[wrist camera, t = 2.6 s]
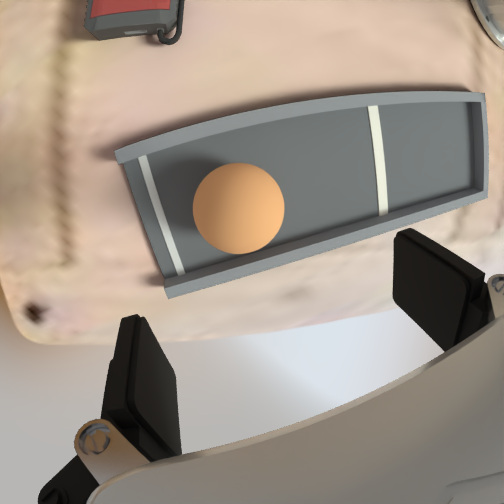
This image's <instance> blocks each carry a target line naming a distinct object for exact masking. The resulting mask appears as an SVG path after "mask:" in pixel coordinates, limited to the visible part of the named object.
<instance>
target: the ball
mask: <svg viewBox="0 0 504 504" xmlns="http://www.w3.org/2000/svg"><path fill="white" fill-rule="evenodd" d="M193 216H194V221H195V224H196V226H197V229H198V230H199V232H200V234H201V235H202V236H203V238H204V239H205V240H206V241H207V242H208V243H209V244H211V245H212V246H213V247H215V248H217V249H219V250H221V251H224V252H227V253H232V254H245V253H250V252H253V251H256V250H258V249H260V248H262V247H264V246H265V245H266V244H268V243H269V242H270V241H271V240H272V239H273V238H274V237H275V235H276V234H277V232H278V231H279V229H280V227H281V224H282V221H283V218H284V199H283V195H282V192H281V190H280V188H279V186H278V184H277V182H276V181H275V180H274V179H273V178H272V177H271V176H270V175H269V174H268V173H267V172H266V171H264V170H263V169H261V168H259V167H257V166H254V165H251V164H247V163H231V164H226V165H223V166H221V167H219V168H217V169H215V170H213V171H212V172H210V173H209V174H208V175H207V176H206V177H205V178H204V179H203V180H202V182H201V183H200V185H199V186H198V188H197V190H196V193H195V196H194V201H193Z"/></svg>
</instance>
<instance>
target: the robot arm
mask: <svg viewBox="0 0 504 504" xmlns="http://www.w3.org/2000/svg"><path fill="white" fill-rule="evenodd" d="M470 1H471V3H472V6H473V8H474V10H475V12H476V14H477V16H478V19H479V20H480V22H481V24H482V26H483V27H484V29H485V30H486V32H487V33H488V35H489V36H490V37H491V39H492V40H493V41H494V42H495V43H496V44H497V45H498V46H499V47H500V48H502V49H503V50H504V0H470ZM484 278H485V273H484V272H482V271H481V270H479V269H478V268H476V267H475V266H473V265H472V264H470V263H469V262H467V261H465V260H464V259H462V258H461V257H459V256H458V255H456V254H454V253H453V252H451V251H450V250H448V249H446V248H445V247H443V246H441V245H440V244H438V243H436V242H435V241H433V240H431V239H430V238H428V237H426V236H425V235H423V234H421V233H419V232H418V231H416V230H414V229H412V228H408V229H405V230H402V231H399V232H398V233H397V234H396V237H395V238H394V265H393V299H394V301H395V303H396V304H397V305H398V306H399V307H400V308H401V309H402V310H403V311H404V312H405V313H406V314H408V316H409V317H410V318H412V319H413V320H414V321H415V322H416V323H417V324H418V325H419V326H420V327H421V328H422V329H423V330H424V331H425V332H426V333H427V334H428V335H429V336H430V337H431V338H432V339H433V340H434V341H435V342H436V343H437V344H438V345H439V346H440V347H441V348H442V349H443V351H444V353H443V354H441V355H439V356H438V357H436V358H434V359H433V360H431V361H429V362H428V363H426V364H424V365H422V366H421V367H419V368H417V369H415V370H413V371H412V372H410V373H408V374H406V375H404V376H402V377H400V378H399V379H397V380H395V381H393V382H391V383H389V384H387V385H385V386H383V387H381V388H379V389H377V390H375V391H372V392H370V393H368V394H366V395H364V396H362V397H359V398H357V399H355V400H353V401H351V402H348V403H346V404H344V405H341V406H339V407H336V408H334V409H332V410H329V411H327V412H324V413H322V414H319V415H316V416H314V417H311V418H309V419H306V420H303V421H301V422H298V423H295V424H292V425H289V426H286V427H283V428H280V429H277V430H274V431H271V432H268V433H264V434H261V435H258V436H255V437H251V438H248V439H244V440H240V441H237V442H233V443H230V444H225V445H222V446H218V447H214V448H210V449H205V450H201V451H197V452H192V453H187V454H183V455H182V450H181V439H180V428H179V417H178V403H177V388H176V376H175V373H174V370H173V368H172V366H171V365H170V363H169V361H168V359H167V358H166V356H165V354H164V352H163V350H162V349H161V347H160V345H159V343H158V341H157V339H156V337H155V335H154V334H153V332H152V330H151V328H150V326H149V324H148V322H147V320H146V318H145V317H140V316H139V315H138V314H135V315H131V316H128V317H124V318H122V319H121V323H120V327H119V332H118V337H117V342H116V347H115V352H114V357H113V359H112V360H111V361H110V364H109V369H108V374H107V380H106V386H105V392H104V398H103V405H102V412H101V419H95V420H92V421H89V422H87V423H86V424H84V425H83V426H82V427H81V428H80V429H79V431H78V432H77V434H76V436H75V440H74V448H75V450H76V453H77V455H76V456H75V457H74V458H73V459H72V460H71V461H70V462H69V463H68V464H67V465H66V466H65V467H64V468H63V469H62V470H60V471H59V473H57V474H56V475H55V476H54V477H53V478H52V479H51V480H50V481H49V482H48V483H47V484H46V485H45V486H44V487H43V488H42V489H41V491H40V493H39V496H38V504H504V274H496V275H493V276H491V277H490V278H489V279H488V281H487V283H485V282H484Z"/></svg>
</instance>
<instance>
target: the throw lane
mask: <svg viewBox="0 0 504 504" xmlns="http://www.w3.org/2000/svg"><path fill="white" fill-rule="evenodd" d="M114 152H115V156H116V159H117V162H118V164H121V163H123V165H124V168H125V171H126V174H127V177H128V180H129V184H130V187H131V190H132V193H133V196H134V199H135V201H136V204H137V207H138V210H139V213H140V216H141V219H142V221H143V224H144V227H145V230H146V232H147V235H148V238H149V241H150V243H151V246H152V248H153V251H154V254H155V256H156V259H157V261H158V264H159V266H160V269H161V271H162V274H163V276H164V279H165V282H164V290H165V292H166V295H167V297H168V299H170V298H174V297H177V296H181V295H184V294H187V293H191V292H194V291H198V290H201V289H205V288H208V287H212V286H215V285H218V284H222V283H225V282H229V281H232V280H235V279H239V278H242V277H245V276H249V275H252V274H255V273H259V272H262V271H265V270H268V269H272V268H275V267H278V266H282V265H285V264H288V263H291V262H295V261H298V260H301V259H304V258H307V257H311V256H314V255H317V254H320V253H323V252H327V251H330V250H333V249H336V248H339V247H342V246H346V245H349V244H352V243H355V242H358V241H361V240H364V239H367V238H370V237H373V236H377V235H380V234H383V233H386V232H389V231H392V230H395V229H398V228H401V227H404V226H407V225H410V224H413V223H416V222H419V221H422V220H425V219H428V218H431V217H434V216H437V215H440V214H443V213H446V212H448V211H451V210H454V209H457V208H460V207H463V206H466V205H469V204H472V203H474V202H477V201H480V200H483V199H486V198H488V177H489V145H488V124H487V111H486V100H485V93H478V92H462V91H400V92H381V93H367V94H356V95H345V96H336V97H328V98H320V99H313V100H306V101H300V102H294V103H288V104H282V105H276V106H271V107H266V108H261V109H256V110H251V111H246V112H242V113H237V114H233V115H229V116H225V117H220V118H216V119H212V120H209V121H205V122H201V123H197V124H194V125H190V126H187V127H183V128H180V129H176V130H173V131H170V132H166V133H163V134H160V135H157V136H154V137H151V138H148V139H145V140H142V141H139V142H136V143H133V144H130V145H127V146H125V147H122V148H119V149H117V150H115V151H114ZM231 163H247V164H251V165H254V166H257V167H259V168H261V169H263V170H264V171H266V172H267V173H268V174H269V175H270V176H271V177H272V178H273V179H274V180H275V181H276V182H277V184H278V186H279V188H280V190H281V192H282V195H283V199H284V218H283V221H282V224H281V227H280V229H279V231H278V232H277V234H276V235H275V237H274V238H273V239H272V240H271V241H270V242H269V243H268V244H266V245H265V246H264V247H262V248H260V249H258V250H256V251H253V252H250V253H245V254H232V253H227V252H224V251H221V250H219V249H217V248H215V247H213V246H212V245H211V244H209V243H208V242H207V241H206V240H205V239H204V238H203V236H202V235H201V234H200V232H199V230H198V229H197V226H196V224H195V221H194V216H193V201H194V196H195V193H196V190H197V188H198V186H199V185H200V183H201V182H202V180H203V179H204V178H205V177H206V176H207V175H208V174H209V173H210V172H212V171H213V170H215V169H217V168H219V167H221V166H223V165H226V164H231Z"/></svg>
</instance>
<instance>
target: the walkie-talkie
mask: <svg viewBox="0 0 504 504" xmlns="http://www.w3.org/2000/svg"><path fill="white" fill-rule="evenodd" d="M184 1H185V0H88V1H87V2H88V5H87V7H86V8H87V12H86V13H85V14H86V18H85V20H84V21H85V25H84V27H85V28H86V29H87V30H88V31H89V32H90V33H91V34H93V35H94V36H95V37H96V38H97V39H98V40H99V41H100V40H107V39H114V38H122V37H130V36H141V35H154V34H157V35H158V38H159V41H160V42H161V43H162V44H167V45H171V44H174V43H176V42H177V41H178V40H179V38H180V36H181V33H182V22H183V11H184ZM176 26H177V28H176V33H175V35H174V37H173V38H171V39H168V38H165V37H164V36H163V34H168V33H169V32H170V31H172V30H173V29H174V28H175V27H176Z"/></svg>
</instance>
